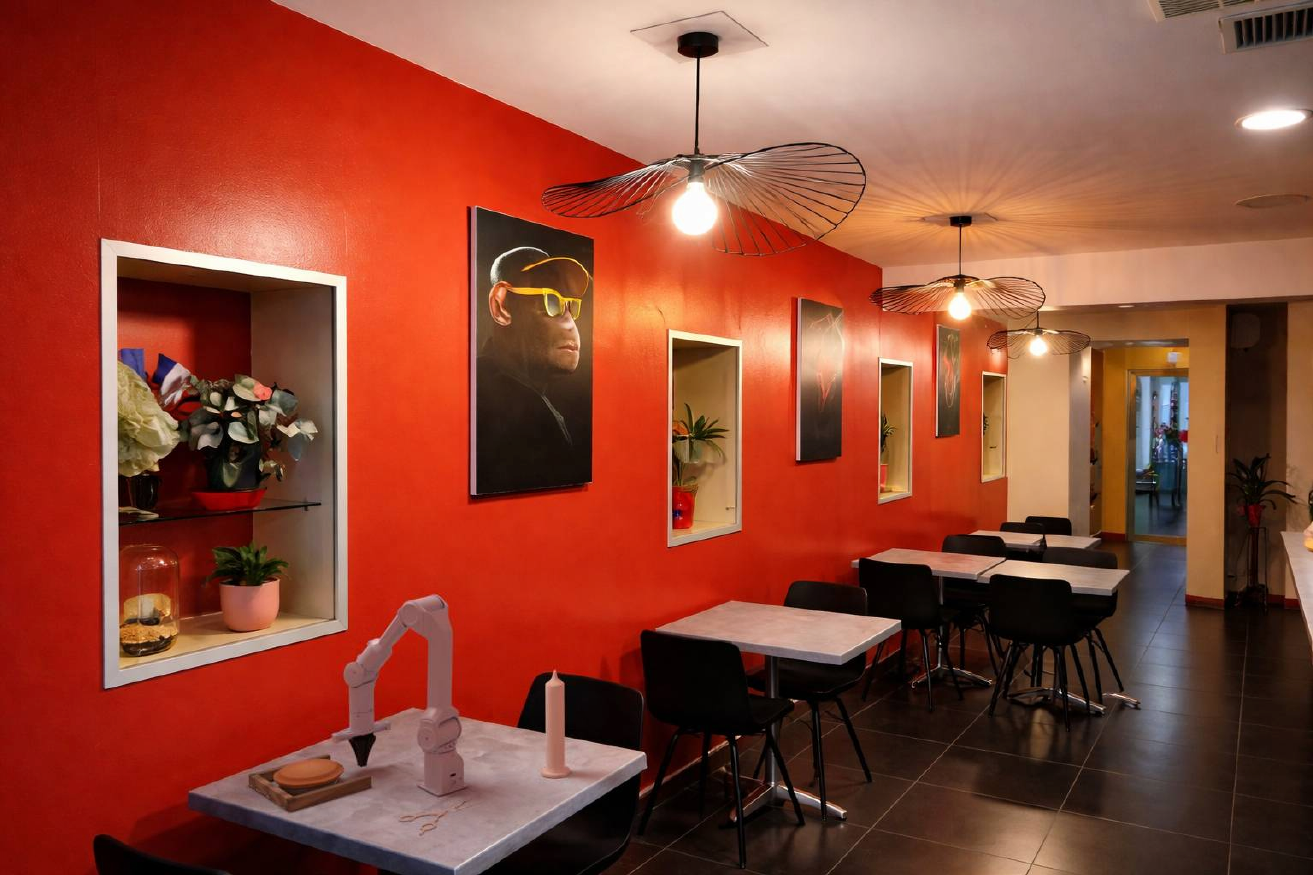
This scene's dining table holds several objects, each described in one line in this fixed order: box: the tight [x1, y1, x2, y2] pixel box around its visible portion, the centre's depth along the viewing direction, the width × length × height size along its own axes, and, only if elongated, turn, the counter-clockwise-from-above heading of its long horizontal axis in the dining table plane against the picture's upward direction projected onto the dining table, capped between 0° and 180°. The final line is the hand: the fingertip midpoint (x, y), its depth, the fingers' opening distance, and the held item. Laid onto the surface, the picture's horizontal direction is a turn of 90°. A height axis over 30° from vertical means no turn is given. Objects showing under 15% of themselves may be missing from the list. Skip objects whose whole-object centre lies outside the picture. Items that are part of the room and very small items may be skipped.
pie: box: [273, 758, 345, 796], centre depth 219 cm, size 16×16×5 cm
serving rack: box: [248, 753, 372, 812], centre depth 219 cm, size 22×20×2 cm
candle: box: [540, 669, 571, 779], centre depth 227 cm, size 7×7×25 cm
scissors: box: [397, 797, 472, 836], centre depth 204 cm, size 11×1×20 cm
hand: (362, 765), depth 229 cm, fingers closed
